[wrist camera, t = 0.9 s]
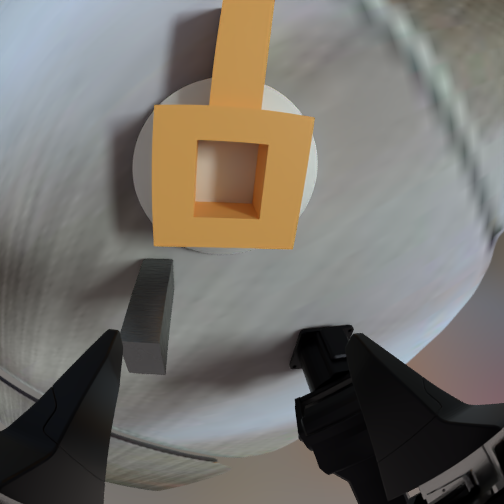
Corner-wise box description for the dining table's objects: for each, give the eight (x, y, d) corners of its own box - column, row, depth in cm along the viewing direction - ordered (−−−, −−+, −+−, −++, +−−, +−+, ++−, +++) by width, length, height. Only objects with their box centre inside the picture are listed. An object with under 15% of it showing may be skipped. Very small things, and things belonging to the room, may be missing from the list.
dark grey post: (174, 289, 23) (165, 374, 15) (147, 288, 22) (128, 372, 15) (172, 259, 21) (159, 343, 14) (144, 259, 21) (118, 340, 13)
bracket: (298, 251, 23) (313, 276, 19) (139, 248, 20) (128, 274, 17) (331, 26, 14) (356, 13, 11) (150, 7, 12) (139, -13, 8)
